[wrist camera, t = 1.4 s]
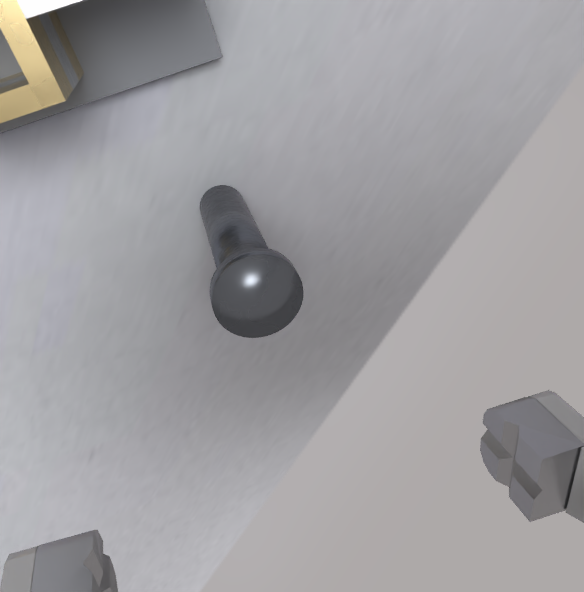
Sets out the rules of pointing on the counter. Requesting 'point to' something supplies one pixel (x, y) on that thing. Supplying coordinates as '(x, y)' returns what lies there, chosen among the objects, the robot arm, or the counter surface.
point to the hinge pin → (247, 269)
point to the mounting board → (124, 47)
